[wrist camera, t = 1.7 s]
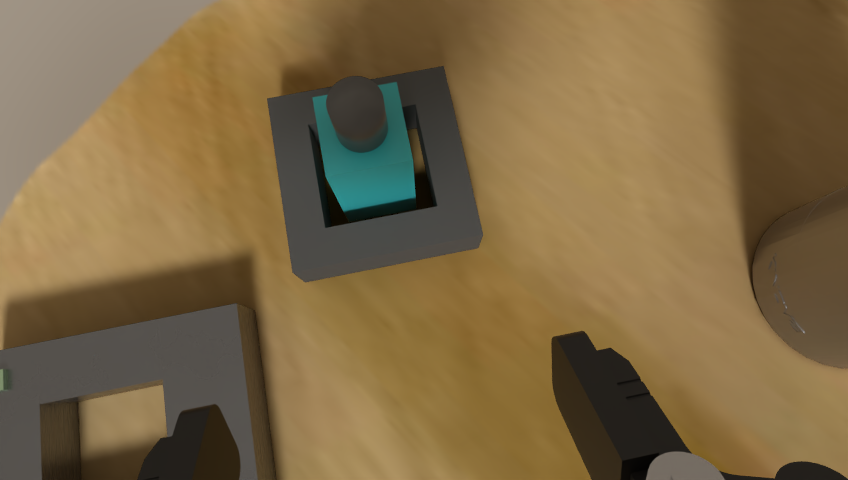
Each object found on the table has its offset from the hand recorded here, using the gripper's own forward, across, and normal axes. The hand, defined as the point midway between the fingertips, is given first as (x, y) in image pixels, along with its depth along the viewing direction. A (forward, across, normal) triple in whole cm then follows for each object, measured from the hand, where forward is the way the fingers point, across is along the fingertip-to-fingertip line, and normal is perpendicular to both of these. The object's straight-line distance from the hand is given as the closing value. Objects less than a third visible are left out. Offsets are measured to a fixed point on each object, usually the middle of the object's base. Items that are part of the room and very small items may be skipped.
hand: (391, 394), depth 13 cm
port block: (+12, +15, +12) cm, 23 cm away
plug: (+20, 0, +4) cm, 21 cm away
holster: (+20, 0, +4) cm, 21 cm away
